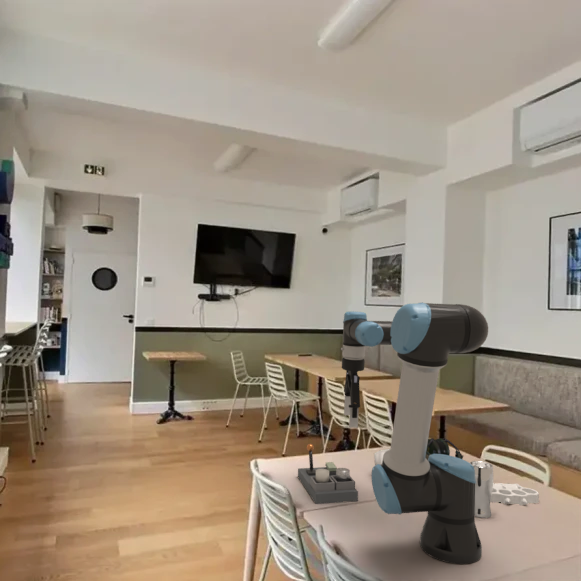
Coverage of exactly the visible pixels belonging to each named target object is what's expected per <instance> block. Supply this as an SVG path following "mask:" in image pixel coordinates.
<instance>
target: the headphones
mask: <svg viewBox="0 0 581 581" xmlns="http://www.w3.org/2000/svg"><path fill="white" fill-rule="evenodd" d="M450 445H451V447H453V448H454V450H455V453H454V454H455V456H454V457H457V458H460V459H463V458H464V455H463V454H462V453H461V451H460V450H459V448H458V447H457V446H456V445H454V443H453V442H451V441H450V440H449V439H447V438H445V437H443V438H436V439H435V438H428V443H427V449H426V456H425V458H426V459H427V460H428V458H429V455H432V454H444V455H449V456H451V455H450V453H451V451H450V447H449V446H450ZM463 460H464V459H463Z"/></svg>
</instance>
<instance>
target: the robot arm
mask: <svg viewBox="0 0 581 581" xmlns="http://www.w3.org/2000/svg"><path fill="white" fill-rule="evenodd" d="M367 317H368V316H367V313H366V312H363V311H354V310H353V311H352V310H351V311H346V312H345V313H344V315H343V321H342V323H343V330H342V332H343V333H342V347H341V348H340V350H341V351H342V358H341V369H342V370H344V371H346V372H345V381H344V382H345V383H344V390H343V392H344V404H343V405H344V406H343V407H344V408H343V415H344V416H349V418H348V419H349V421H348V427H349V428H359V413H360V412H359V410H360V409H359V408H361V402H360V400H361V397H360V396H361V395H360V394H361V393H360V379H361V378H360V376H359V374H358V372H363V371H364V370H365V363H366V362H365V359H364V358H366V347H371V348H372V347H377V346H390V345H391V346H392V348H393V350H394V351H395V352H396V357H397V358H398V360H399V361H400V362H401V363H402V364H401V372H400V377H399V384H398V393H397V399H396V406H395V414H394V421H393V427H392V428H393V429H392V433H391V434H392V435H391V441H390V448H389V449H390V450H388V451H386V452H385V453H384V455H383V461H382V464H381V465H380V464H377V465H375V464H374V465H373V467H372V469H371V486H372V490H373V494H374V497H375V500H376V502H377V504H378V507H379V508H380V509H381V511H382V512H384V513H385V514H388V515H394V514H396V515H402V514H413V513H424V512H425V513H426V512H427V515H426V519H425V521H424V522H423V523H424V524H423V526H422V529H421V533H420V535H419V536H420V537H419V545H420V548H421V549H422V551H423V552H424V553H425V554H427V555H428V556H430V557H432V558H434V559H437V560H439V561H443V562H446V563H450V564H456V565H458V564H459V565H463V564H465V565H466V564H472V563H475V562H477V561H479V560H480V559H481V558H482V554H483V553H482V548H483V547H482V541H481V538H480V535H479V532H478V529H477V526H476V522H475V521H476V519H475V518H476V516H475V484H476V479H475V469H474V467H473V466H472V465H471V464H470V462H469V461H467V460H466V459H465V460H464V459H460V458H457V457H456V456H453V455H444V454H432V455H429V458H428V460H427V459H426V458H425V456H426V449H427V443H428V439H429V436H430V431H431V430H430V428H431V424H432V417H433V410H434V404H435V398H436V391H437V386H438V385H437V384H438V380H439V373H440V370H441V369H443V368H444V367H446V366H447V364H448V360H449V355H450V354H464V353H465V354H466V353H471V352H473V351H475V350H478V349H479V348H480V347H481V346H482V345H484V343H485V342H486V340H487V338H488V334H489V324H488V321H487V319H486V317H485V315H484V314H482V312H480V310H478V309H477V308H475V307H472V306H470V305H467V304H462V303H461V304H458V303H456V304H452V303H451V304H450V303H432V302H431V303H429V302H418V303H407V304H403V305H402V306H401V307H400V308H398V310H397V311H396V312H395V314H394V316H393V320H392V321H390V320H389V321H388V320H368V318H367Z"/></svg>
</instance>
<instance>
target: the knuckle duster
mask: <svg viewBox="0 0 581 581" xmlns="http://www.w3.org/2000/svg"><path fill="white" fill-rule="evenodd" d="M539 498H540V493H539V492H538V490H536V489H533V488H530V487H525V486H521V484H519V483H517V482H516V483H502V482H498V483H496V482H495V483H494V482H493V489H492V494H491V500H490V503H492V502H494V503H496V502H501V503H500V504H502V503H504V504H503V505H507V504H519V505H518V506H527V505H529V504H528V503H538V502H539V501H540V500H539ZM526 504H527V505H526ZM538 504H539V503H538Z"/></svg>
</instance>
